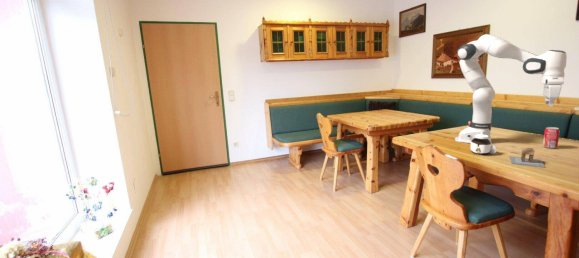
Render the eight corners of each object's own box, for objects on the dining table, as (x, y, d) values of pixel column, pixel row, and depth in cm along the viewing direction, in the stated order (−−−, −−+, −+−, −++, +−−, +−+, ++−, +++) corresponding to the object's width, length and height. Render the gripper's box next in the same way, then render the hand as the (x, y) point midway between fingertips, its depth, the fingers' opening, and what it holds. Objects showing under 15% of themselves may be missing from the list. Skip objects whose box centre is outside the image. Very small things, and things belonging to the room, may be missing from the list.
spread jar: (468, 152, 180) (469, 134, 178) (479, 149, 185) (481, 132, 182) (487, 157, 170) (489, 138, 167) (499, 154, 174) (501, 136, 171)
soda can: (560, 149, 178) (563, 129, 176) (546, 148, 180) (549, 129, 177) (552, 146, 185) (555, 126, 183) (539, 145, 187) (542, 126, 184)
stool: (521, 161, 158) (523, 149, 157) (520, 159, 162) (522, 147, 161) (533, 163, 155) (534, 150, 154) (531, 160, 159) (533, 148, 158)
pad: (511, 163, 157) (511, 162, 157) (509, 156, 168) (509, 156, 168) (544, 167, 149) (545, 166, 149) (540, 160, 161) (540, 159, 161)
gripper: (541, 79, 165) (538, 102, 168) (548, 81, 148) (544, 107, 151) (556, 79, 162) (552, 103, 164) (564, 81, 145) (560, 107, 148)
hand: (548, 105), depth 158 cm, fingers open, 8 cm apart
